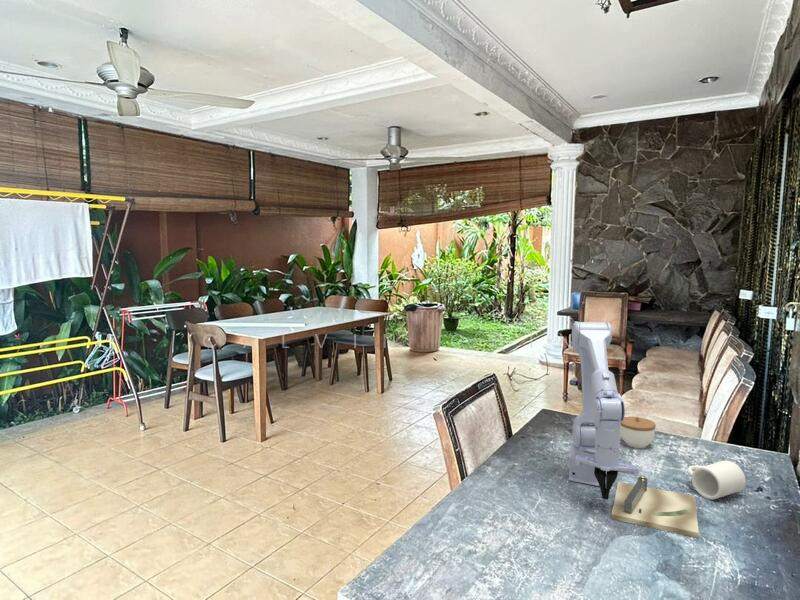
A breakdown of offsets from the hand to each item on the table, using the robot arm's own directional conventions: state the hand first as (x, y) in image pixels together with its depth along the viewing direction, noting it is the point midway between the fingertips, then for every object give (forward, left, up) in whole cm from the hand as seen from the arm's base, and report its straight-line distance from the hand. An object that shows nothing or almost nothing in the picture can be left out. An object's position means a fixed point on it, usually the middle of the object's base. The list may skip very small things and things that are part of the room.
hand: (605, 497), depth 128 cm
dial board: (+11, +4, -2) cm, 12 cm away
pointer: (+7, +4, -1) cm, 8 cm away
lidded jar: (+5, +47, -2) cm, 47 cm away
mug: (+24, +21, -2) cm, 32 cm away
